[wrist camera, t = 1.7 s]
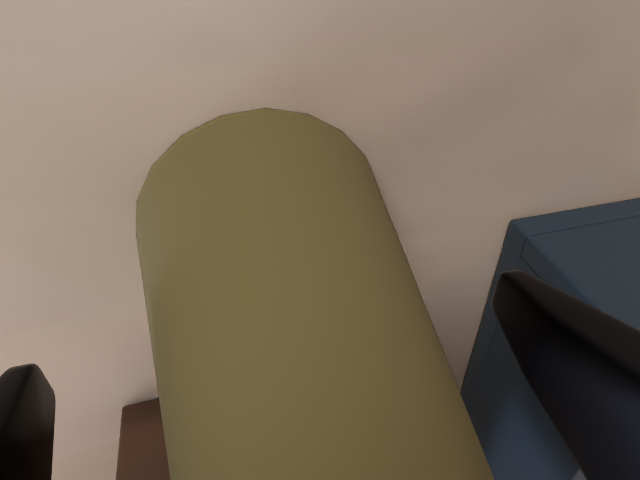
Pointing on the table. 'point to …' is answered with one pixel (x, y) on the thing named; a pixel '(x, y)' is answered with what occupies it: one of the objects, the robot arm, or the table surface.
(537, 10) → the table surface
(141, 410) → the panel
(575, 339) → the robot arm
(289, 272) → the cork
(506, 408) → the basin
